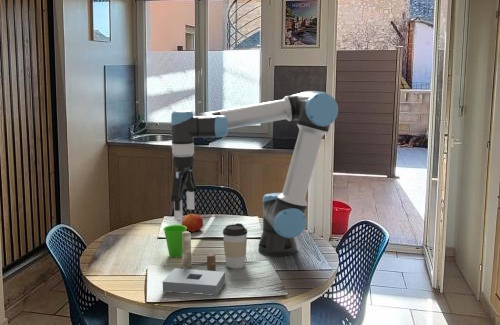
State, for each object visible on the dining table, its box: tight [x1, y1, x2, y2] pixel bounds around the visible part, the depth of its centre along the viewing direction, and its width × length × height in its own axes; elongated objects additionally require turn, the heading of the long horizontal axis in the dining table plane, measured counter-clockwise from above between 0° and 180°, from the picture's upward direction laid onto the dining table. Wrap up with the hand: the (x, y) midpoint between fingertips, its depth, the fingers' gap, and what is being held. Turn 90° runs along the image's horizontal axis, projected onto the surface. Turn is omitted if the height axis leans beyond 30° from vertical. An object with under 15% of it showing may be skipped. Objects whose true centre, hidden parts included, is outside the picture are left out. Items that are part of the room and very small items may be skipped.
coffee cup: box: [222, 223, 248, 269], centre depth 200 cm, size 9×9×15 cm
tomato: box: [181, 213, 204, 233], centre depth 242 cm, size 9×9×8 cm
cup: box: [163, 224, 187, 258], centre depth 211 cm, size 9×9×11 cm
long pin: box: [182, 231, 192, 269], centre depth 195 cm, size 3×3×14 cm
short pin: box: [206, 253, 217, 271], centre depth 194 cm, size 3×3×6 cm
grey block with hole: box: [162, 267, 226, 296], centre depth 181 cm, size 18×12×4 cm, turn 79°
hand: (184, 214), depth 193 cm, fingers open, 13 cm apart
